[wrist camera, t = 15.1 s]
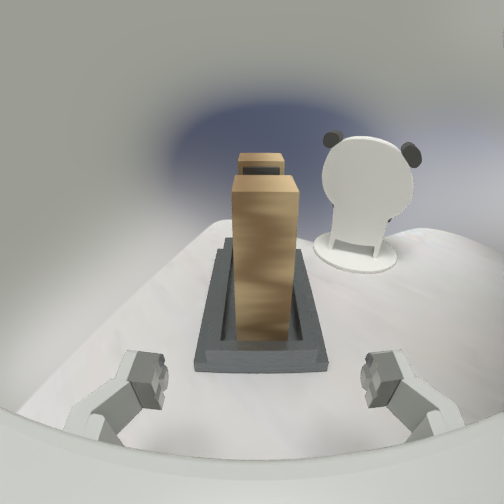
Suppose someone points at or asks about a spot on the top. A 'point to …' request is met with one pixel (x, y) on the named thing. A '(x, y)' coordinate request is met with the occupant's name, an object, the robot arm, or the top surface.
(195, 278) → the top surface
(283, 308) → the oak finger
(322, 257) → the panda figurine
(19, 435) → the robot arm
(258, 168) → the block
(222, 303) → the dark grey tray
